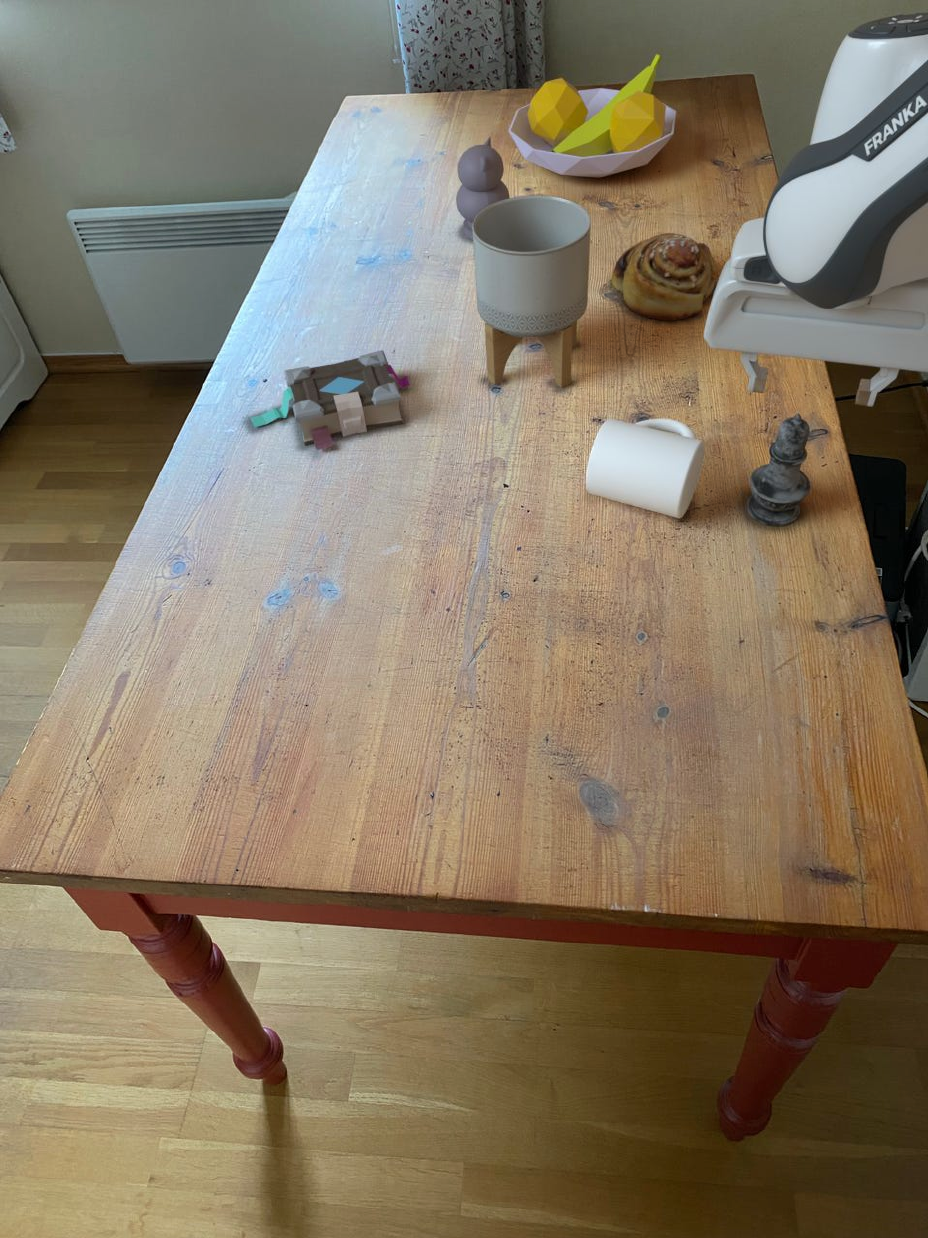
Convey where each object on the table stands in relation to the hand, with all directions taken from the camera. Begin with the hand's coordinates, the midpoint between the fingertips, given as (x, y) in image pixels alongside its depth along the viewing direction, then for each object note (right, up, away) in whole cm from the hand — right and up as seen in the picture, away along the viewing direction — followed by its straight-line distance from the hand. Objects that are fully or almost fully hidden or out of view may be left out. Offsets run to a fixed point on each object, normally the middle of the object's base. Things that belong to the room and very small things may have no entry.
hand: (809, 395), depth 81 cm
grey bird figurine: (-29, +38, +52) cm, 70 cm away
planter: (-23, +11, +30) cm, 39 cm away
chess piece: (0, -9, +10) cm, 14 cm away
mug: (-12, -6, +14) cm, 19 cm away
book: (-47, +3, +25) cm, 53 cm away
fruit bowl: (-10, +55, +65) cm, 86 cm away
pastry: (-4, +24, +38) cm, 45 cm away
